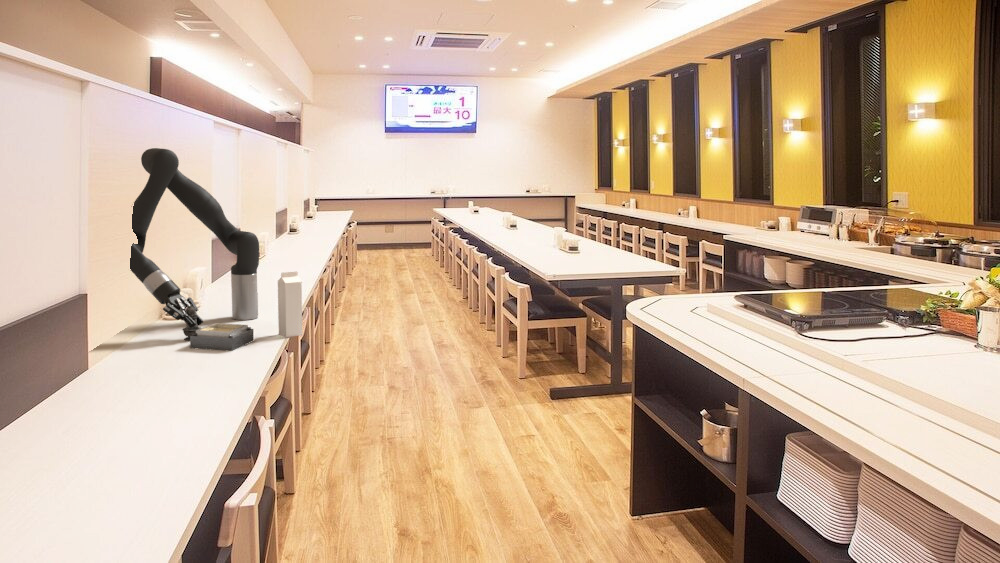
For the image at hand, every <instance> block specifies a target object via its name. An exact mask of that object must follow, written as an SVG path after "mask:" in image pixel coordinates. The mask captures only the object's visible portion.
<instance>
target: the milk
mask: <svg viewBox="0 0 1000 563" xmlns="http://www.w3.org/2000/svg"><path fill="white" fill-rule="evenodd" d="M298 273H299V272H298V271H286V272H281V274H280V276H281V277H280V278H279V279H278V280H277V304H278V306H277V309H278V312H277V314H278V316H277V317H278V319H277V321H278V335H280V336H282V337H284V338H290V337H297V336H299V337H300V336H303V301H302V300H303V297H302V296H303V290H302V288H303V287H302V286H303V285H302V283H303V282H302V280H301V278H300V277H299V275H298Z"/></svg>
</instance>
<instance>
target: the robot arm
mask: <svg viewBox="0 0 1000 563" xmlns="http://www.w3.org/2000/svg"><path fill="white" fill-rule="evenodd" d="M140 160H141V161H140V162H141V165H142V167H143V169H144V170H145V172H147V173H148V174H149V177H148V180H147V182H146V184H145V186H144V188H143V189H142V191H141V192H140V193H139V195H138V196H137V197H136V198H135V200H134V201H133V203H134V206H133V214H132V229H133V232H134V233H135V234H136V236H137V239H138V244H134V243H133V244H132V246H131V258H130V269H131V270H130V271H131V273H133V274H134V275H135V277H136V278H137V279H138V280H139V281H140V282H141V283H142V284H143V285H144V287H145V288H146V290H147V291H148V292H149V293H150V294H151V295H152V296H153V297H154V298H155V299H156V301H158V302H159V304H160V305H165V306H164V307H163V308H162V310H163V311H164V312H165V313H167V314H168V315H169V316H171V317H172V318H174V319H175V320H177V321H179V320H181V321H184V323H186V325H188V326H189V327H190V328H193V327H194V326H195V325H196V322H195V321H194V320H193V319H192V318H191V317H190V316H188V314H187V310H186V309H187V308H188V307H190V304H192V306H193V307H195V308H196V316H197V317H198V318H197V326H201V325H202V324H203V323H204V319H203V318H201V316H199V314H198V311H199V308H198V306H197V305H196V303H195V302H194V300H193V298H192V297H191V296H189V297H188V298H185V297H184V295H181V288H180V287H179V286H178V285H177V284H176V283H175V282H174V280H172V279H171V278H170V277H169V275H168V274H167V273H165V272H164V271H163V270H162V269H161V268H160V267H159V266H158V265H157V264H156V263H155V262H154V261H153V260H152V259H150V258H149V257H147V256H145V255H144V254H143V253H144V250H145V246H146V245H145V244H146V240H147V239H146V238H147V233H148V230H149V228H150V225H151V223H152V221H153V217H154V214H155V212H156V210H157V207H158V205H159V203H160V201H161V199H162V197H163V196H164V193H165V191H166V189H168V190H169V191H170V192H171V193H172V195H174V196H175V197H176V199H177V200H178V201H179V202H180V203H181V204H182V205H183V206H185V207H186V209H187V210H188V211H189V212H190V213H191V214H192V215H193V216H194V217H196V219H198V220H199V221H200V222H201V223H202V224H203V225H204V226H205V227H206V228H208V229H209V230H210V231H211V232H212V233H213V234H214V235H215V236H216V238H218V240H219V241H220V242H221V243H222V245H224V247H225V248H226V249H227V250H228V251H229V252H230V253H231V254H233V255H236V262H235V263H234V265H231V267H230V281H231V310H232V311H231V315H232V317H231V318H232V319H233V320H235V321H236V320H238V321H244V320H246V321H247V320H248V321H249V320H254V319H258V318H259V296H258V295H259V293H258V271H257V270H258V269H259V268H258V267H259V264H260V241H259V239H258V236H257V235H256V234H255V233H253V232H251V231H243V230H240V229H238V228H237V227H236V226H235V225H233V224H232V223H231V222H230V220H228V219H227V216H226V215H225V212H224V210H223V208H222V206H221V204H220V203H219V202H218V201H217V199H216V198H215V197H214V196H212V194H211V193H210V192H209V191H207V189H206V188H204V187H202V186H201V185H199V184H198V183H197V182H195V181H193V180H192V179H190V178H189V177H188V176H186V175H184V174H183V173H182V172H181V171H180V170H179V169H178V168H179V165H180V164H179V163H180V162H179V157H178V156H177V154H176V153H175V152H174V151H173V150H171V149H168V148H159V147H153V148H152V147H151V148H149V149H146V150H145V151H143V153H142V154H141V157H140Z"/></svg>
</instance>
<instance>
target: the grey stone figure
mask: <svg viewBox="0 0 1000 563" xmlns="http://www.w3.org/2000/svg"><path fill="white" fill-rule="evenodd" d="M185 310H187V314H188V316H190V317H191V318H192V319H193V320H194V321H195V322H196V325H195V326H194V327H193V328H190V327H189V326H188V325H187V324H185V325H186V326H185V327H183V328H182V329H181V330H182V332H183V334H184V336H185V337H184V338H183V341H184V340H185V341H184V342H190V336H191V335H193V333H196V330H199V329H201V328H202V327H200V326H199V325H197V318H198V317H197V316H196V308H195V307H193V306H192V304H190V307H188V308H187V307H186V308H185Z"/></svg>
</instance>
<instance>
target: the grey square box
mask: <svg viewBox="0 0 1000 563" xmlns="http://www.w3.org/2000/svg"><path fill="white" fill-rule="evenodd" d="M253 340H254V328H252V327H251V326H249V325H248V324H236V323H235V324H234V323H217V322H215V323H212V324H210V325H207V326H204V327H201V329H199V330H196V333H193V335H191V336H190V341H189V343H190V344H189V346H190V347H189V348H190V349H195V348H198V349H199V350H210V349H211V350H213V351H226V350H228V351H227V352H229V351H230V352H232V351H235V350H236V349H239V348H241V347H243V346H245V344H246V345H247V343H248V344H250V343H251V341H252V342H254V341H253ZM249 342H250V343H249Z"/></svg>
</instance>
